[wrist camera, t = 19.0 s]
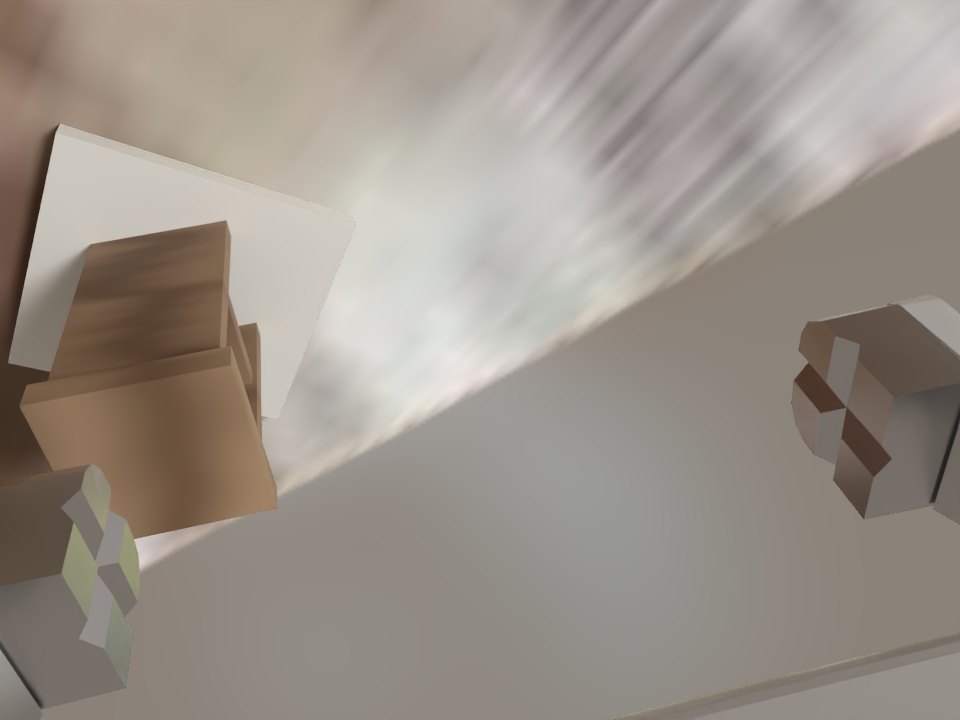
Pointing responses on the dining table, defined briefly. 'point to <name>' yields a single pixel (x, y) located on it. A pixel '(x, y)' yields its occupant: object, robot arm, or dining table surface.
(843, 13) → the dining table surface
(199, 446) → the stool
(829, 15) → the dining table surface
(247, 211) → the mat
